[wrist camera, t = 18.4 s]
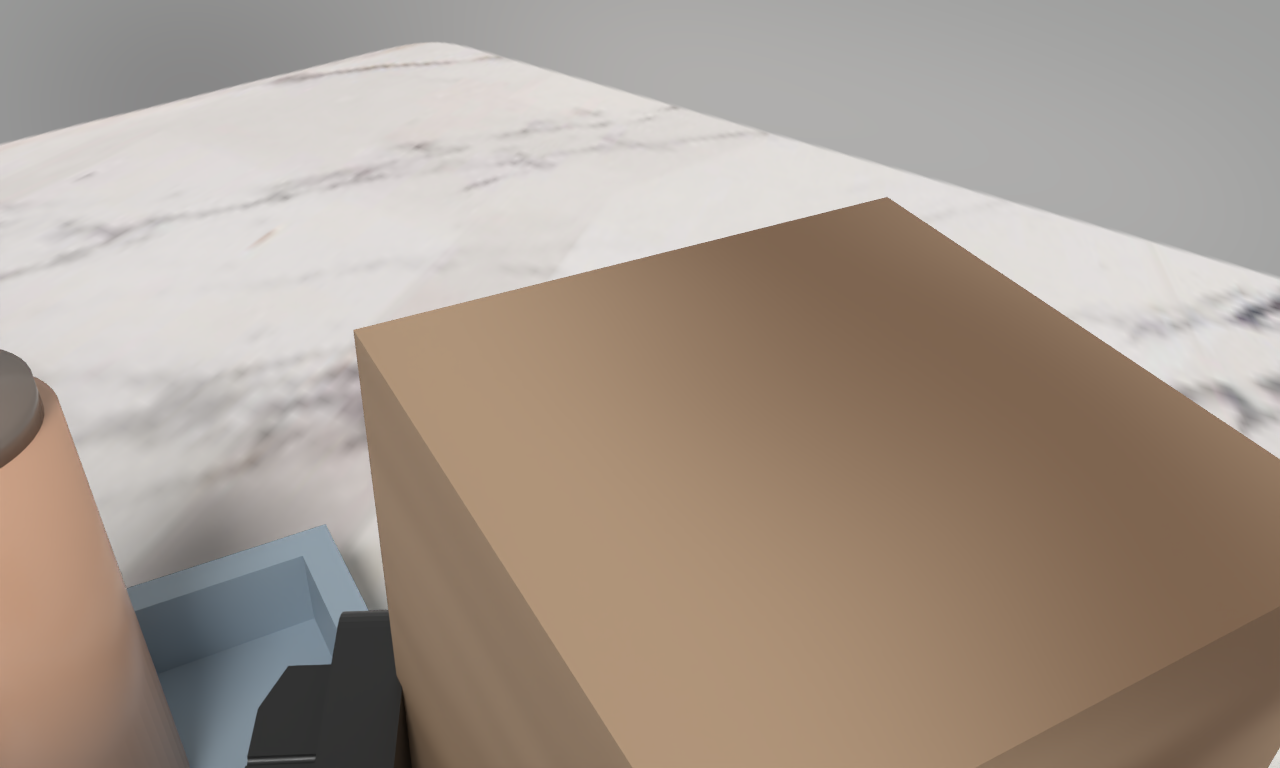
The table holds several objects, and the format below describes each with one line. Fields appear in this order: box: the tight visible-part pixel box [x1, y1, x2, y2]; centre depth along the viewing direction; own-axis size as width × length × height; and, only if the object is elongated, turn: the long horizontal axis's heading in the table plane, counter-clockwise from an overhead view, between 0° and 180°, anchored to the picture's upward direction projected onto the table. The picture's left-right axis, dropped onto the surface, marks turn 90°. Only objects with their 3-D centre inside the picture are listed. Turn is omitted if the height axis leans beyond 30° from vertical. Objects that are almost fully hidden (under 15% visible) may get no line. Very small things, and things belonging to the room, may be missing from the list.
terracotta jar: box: [0, 350, 190, 768], centre depth 27 cm, size 5×5×13 cm
